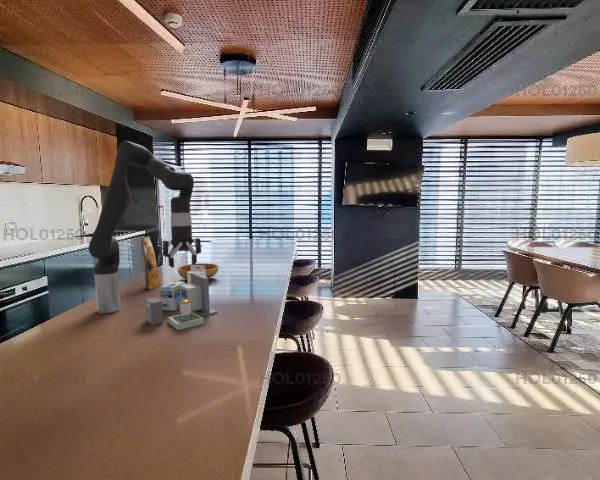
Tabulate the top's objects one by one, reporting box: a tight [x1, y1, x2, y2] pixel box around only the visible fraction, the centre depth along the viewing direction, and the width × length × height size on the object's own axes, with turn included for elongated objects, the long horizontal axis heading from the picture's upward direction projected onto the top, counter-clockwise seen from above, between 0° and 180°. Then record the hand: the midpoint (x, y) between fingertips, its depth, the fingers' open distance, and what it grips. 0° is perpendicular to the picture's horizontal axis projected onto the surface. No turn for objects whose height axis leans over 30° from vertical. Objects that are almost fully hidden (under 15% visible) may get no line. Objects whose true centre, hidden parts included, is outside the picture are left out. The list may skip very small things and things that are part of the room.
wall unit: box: [180, 272, 218, 318], centre depth 154 cm, size 12×16×16 cm
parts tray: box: [167, 311, 205, 331], centre depth 141 cm, size 10×10×2 cm
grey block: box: [144, 297, 164, 326], centre depth 142 cm, size 5×7×9 cm, turn 39°
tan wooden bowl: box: [176, 263, 220, 280], centre depth 212 cm, size 30×24×8 cm
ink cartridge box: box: [186, 265, 206, 284], centre depth 182 cm, size 9×5×15 cm, turn 84°
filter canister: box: [178, 299, 192, 323], centre depth 140 cm, size 4×4×9 cm
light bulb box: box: [160, 281, 186, 312], centre depth 161 cm, size 11×7×11 cm, turn 168°
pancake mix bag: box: [141, 235, 161, 290], centre depth 198 cm, size 7×19×28 cm, turn 5°
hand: (183, 265), depth 138 cm, fingers open, 8 cm apart
